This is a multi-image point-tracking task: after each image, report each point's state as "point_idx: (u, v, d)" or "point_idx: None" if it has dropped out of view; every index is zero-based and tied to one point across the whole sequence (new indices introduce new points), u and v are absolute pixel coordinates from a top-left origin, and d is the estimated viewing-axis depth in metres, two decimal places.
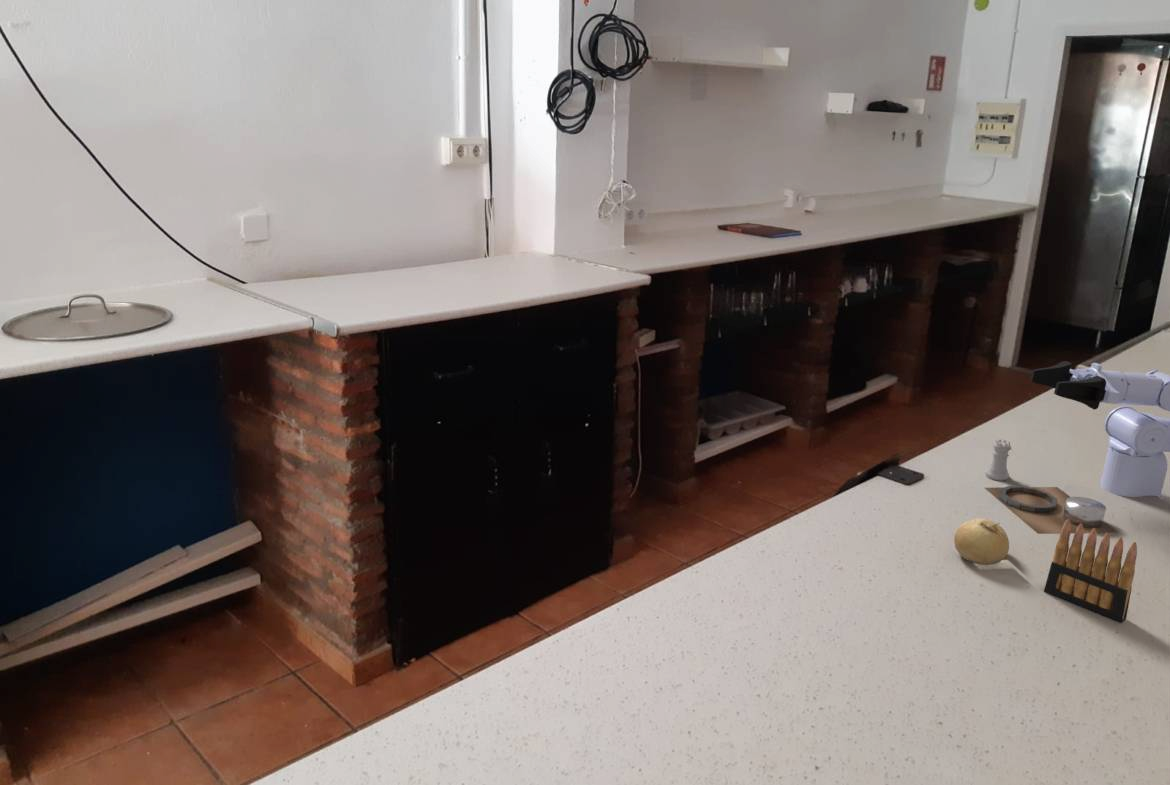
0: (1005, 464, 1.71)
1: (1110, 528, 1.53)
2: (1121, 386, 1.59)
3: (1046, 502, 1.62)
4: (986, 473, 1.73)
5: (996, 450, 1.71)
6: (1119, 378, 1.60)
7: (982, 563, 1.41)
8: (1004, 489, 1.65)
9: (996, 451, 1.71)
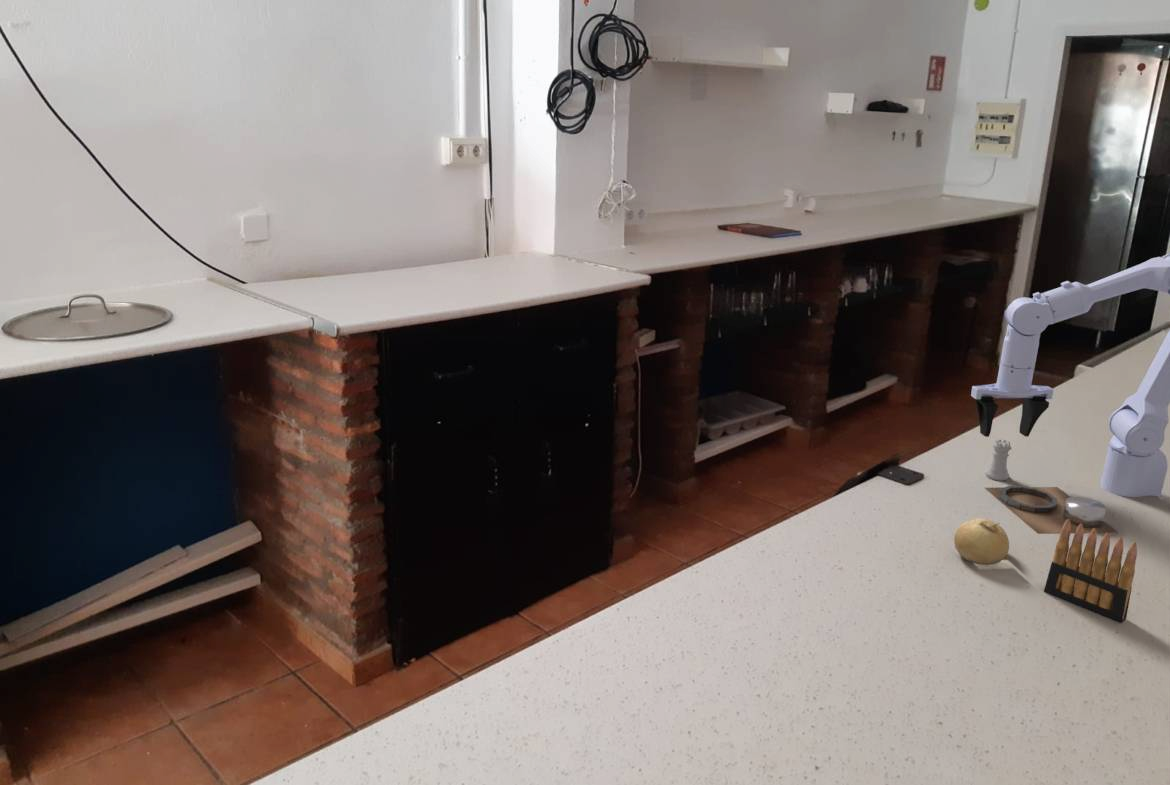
0: (1005, 464, 1.71)
1: (1110, 528, 1.53)
2: (999, 368, 1.67)
3: (1046, 502, 1.62)
4: (986, 473, 1.73)
5: (996, 450, 1.71)
6: None
7: (982, 563, 1.41)
8: (1004, 489, 1.65)
9: (996, 451, 1.71)
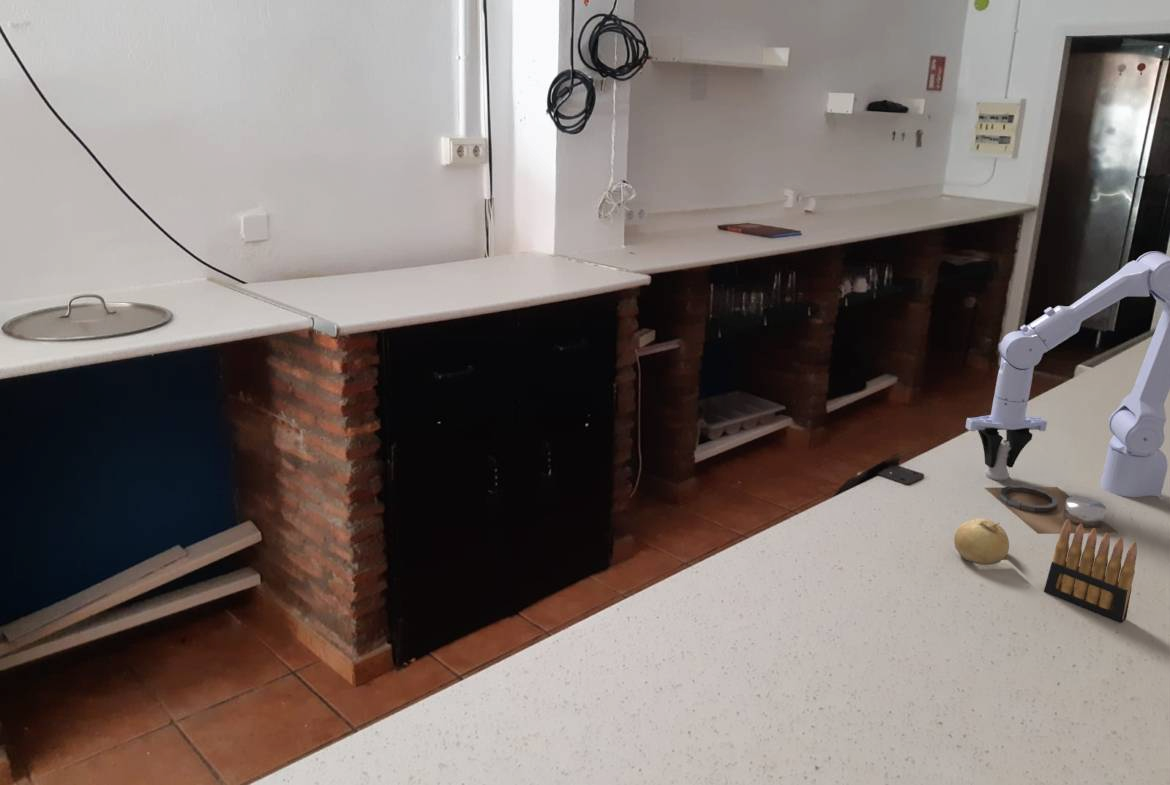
0: (1005, 464, 1.71)
1: (1110, 528, 1.53)
2: (994, 400, 1.69)
3: (1046, 502, 1.62)
4: (986, 473, 1.73)
5: None
6: None
7: (982, 563, 1.41)
8: (1004, 489, 1.65)
9: None
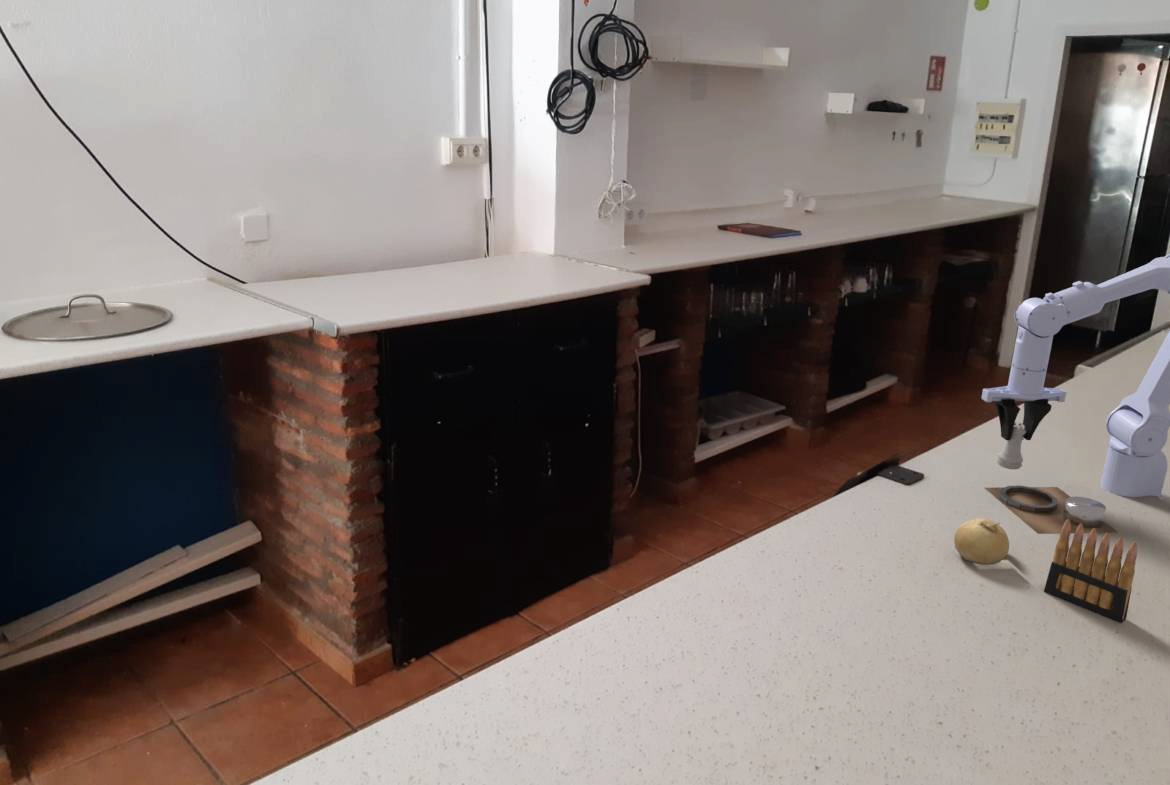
0: (1019, 448, 1.66)
1: (1110, 528, 1.53)
2: (1011, 370, 1.63)
3: (1046, 502, 1.62)
4: (999, 456, 1.68)
5: None
6: None
7: (982, 563, 1.41)
8: (1004, 489, 1.65)
9: None
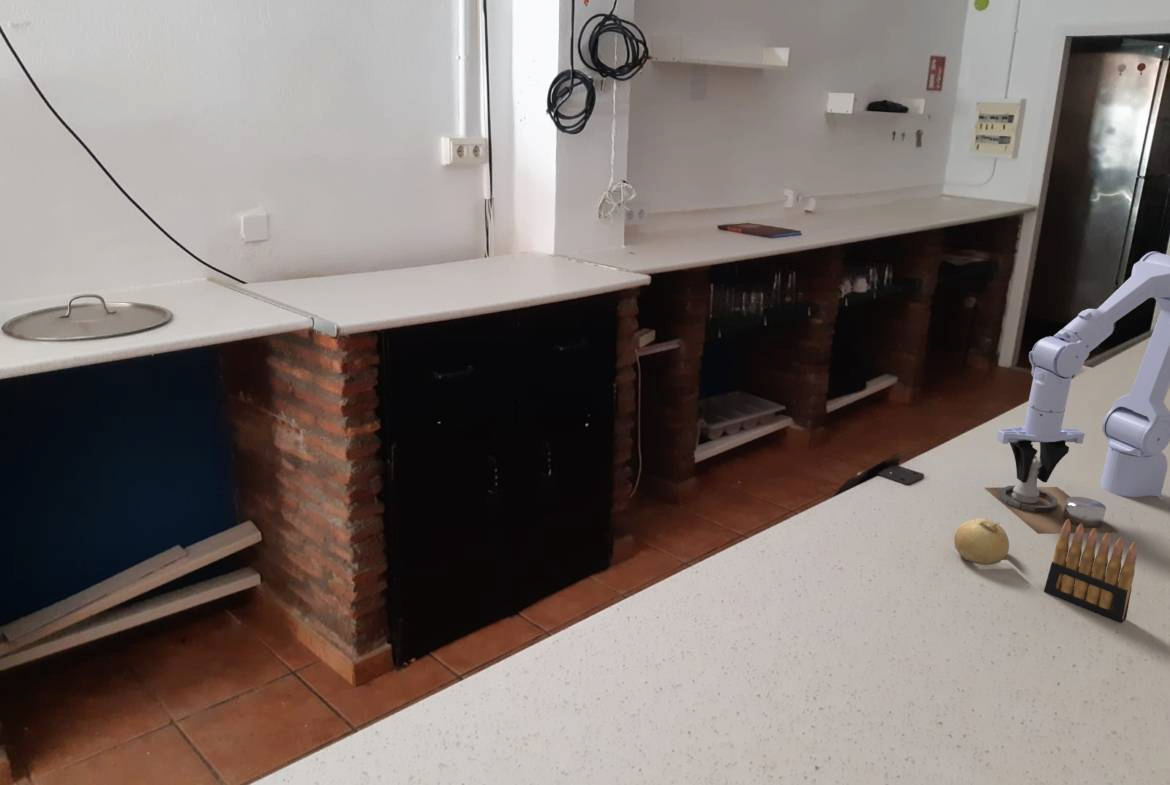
0: (1035, 481, 1.61)
1: (1110, 528, 1.53)
2: (1027, 411, 1.58)
3: (1046, 502, 1.62)
4: (1015, 491, 1.63)
5: None
6: None
7: (982, 563, 1.41)
8: (1004, 489, 1.65)
9: None
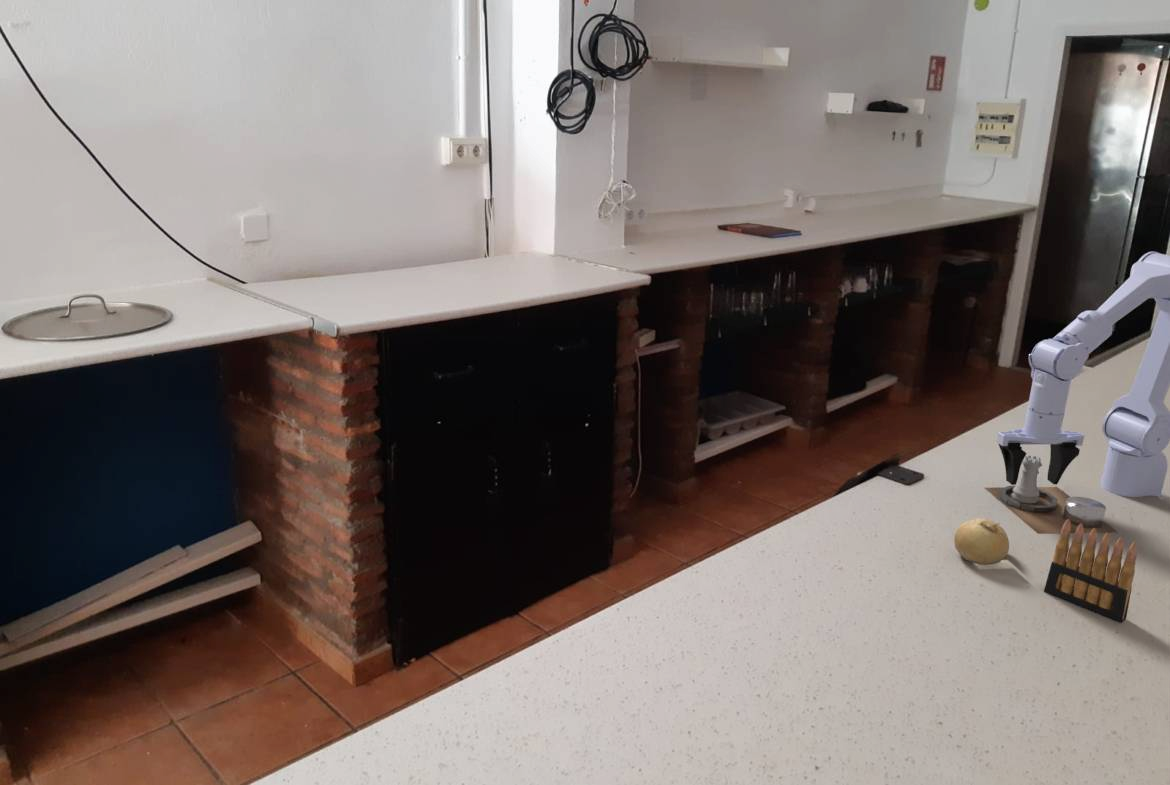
0: (1035, 482, 1.61)
1: (1110, 528, 1.53)
2: (1027, 413, 1.58)
3: (1046, 502, 1.62)
4: (1014, 491, 1.63)
5: (1025, 467, 1.61)
6: None
7: (982, 563, 1.41)
8: (1004, 489, 1.65)
9: (1025, 468, 1.61)
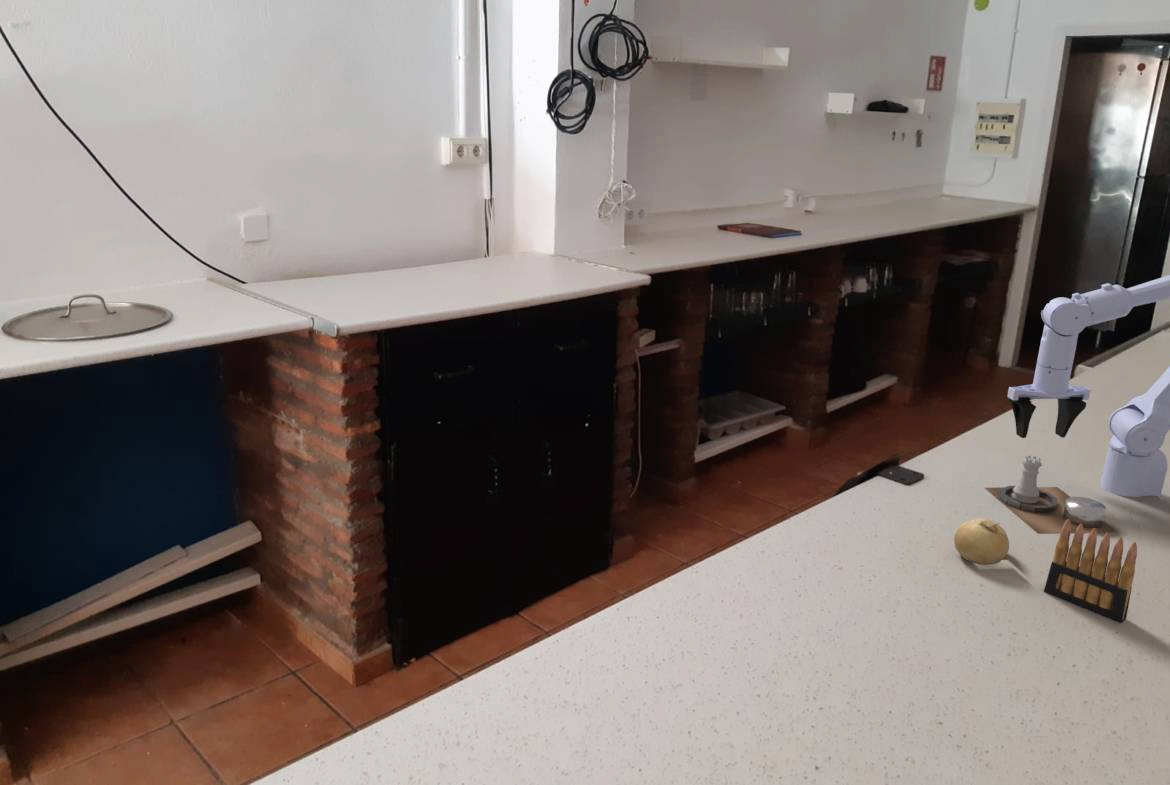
0: (1035, 482, 1.61)
1: (1110, 528, 1.53)
2: (1036, 369, 1.65)
3: (1046, 502, 1.62)
4: (1014, 491, 1.63)
5: (1025, 467, 1.61)
6: None
7: (982, 563, 1.41)
8: (1004, 489, 1.65)
9: (1025, 468, 1.61)
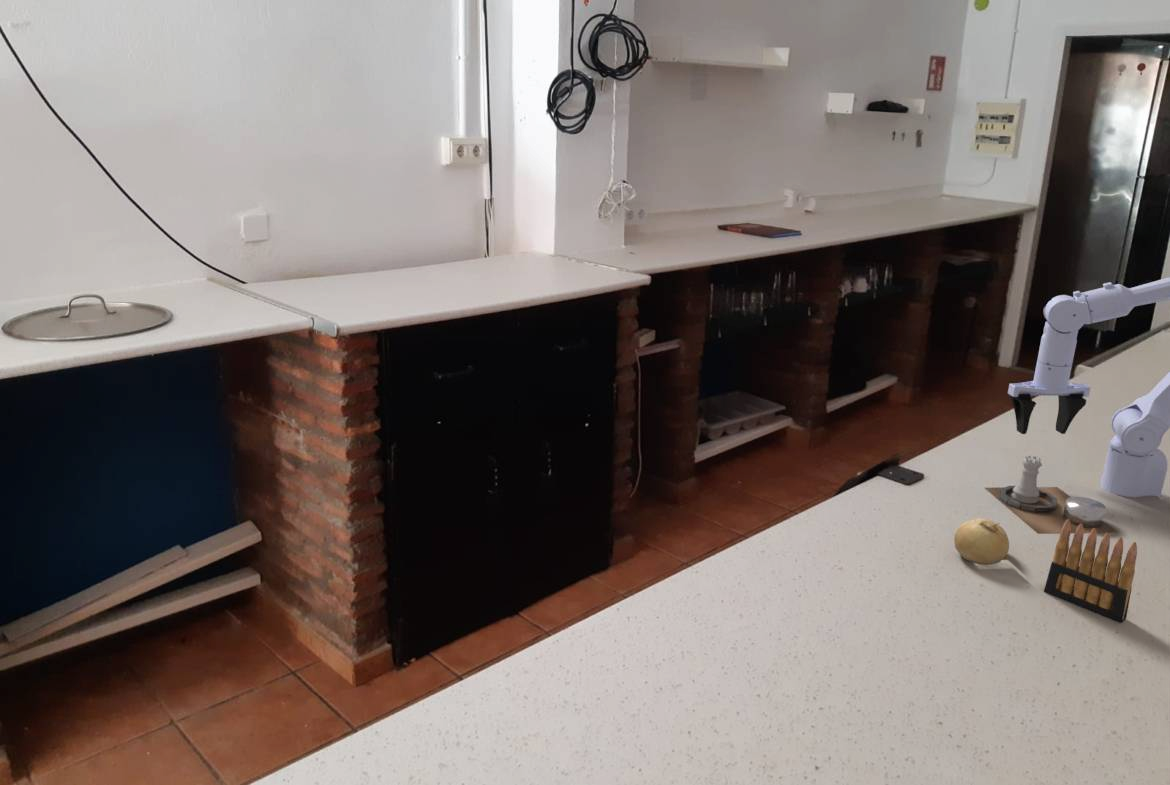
0: (1035, 482, 1.61)
1: (1110, 528, 1.53)
2: (1036, 366, 1.67)
3: (1046, 502, 1.62)
4: (1014, 491, 1.63)
5: (1025, 467, 1.61)
6: None
7: (982, 563, 1.41)
8: (1004, 489, 1.65)
9: (1025, 468, 1.61)
